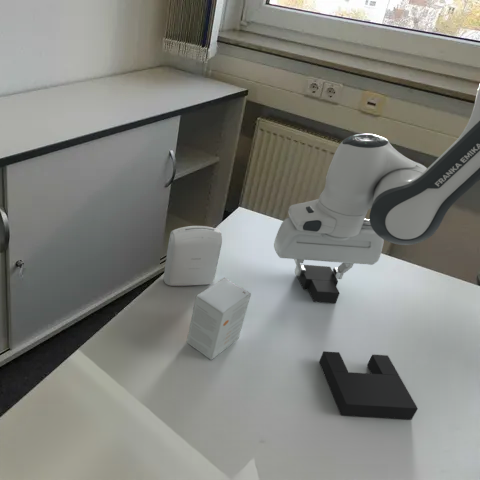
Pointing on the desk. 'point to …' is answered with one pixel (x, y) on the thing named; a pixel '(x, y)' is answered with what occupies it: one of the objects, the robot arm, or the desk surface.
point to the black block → (320, 283)
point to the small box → (217, 317)
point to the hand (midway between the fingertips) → (317, 275)
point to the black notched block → (368, 388)
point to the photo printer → (192, 256)
